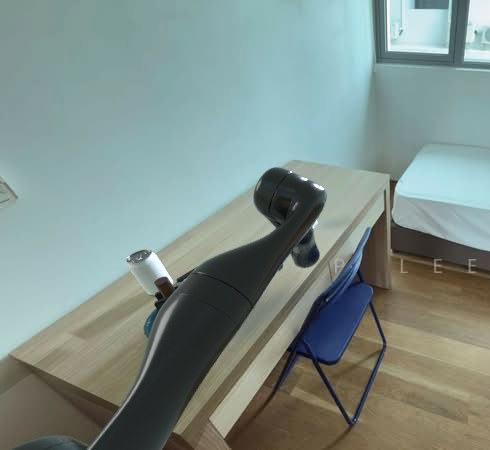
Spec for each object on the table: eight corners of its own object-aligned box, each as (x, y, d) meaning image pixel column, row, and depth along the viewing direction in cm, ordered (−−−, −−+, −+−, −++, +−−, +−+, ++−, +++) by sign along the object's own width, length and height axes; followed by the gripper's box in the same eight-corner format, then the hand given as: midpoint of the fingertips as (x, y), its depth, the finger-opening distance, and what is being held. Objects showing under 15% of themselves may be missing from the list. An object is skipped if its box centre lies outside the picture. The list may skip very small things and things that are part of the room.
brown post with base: (195, 332, 74) (165, 288, 65) (173, 333, 74) (141, 290, 65) (205, 314, 78) (179, 271, 70) (185, 315, 78) (156, 272, 70)
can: (142, 293, 86) (118, 261, 79) (162, 278, 91) (141, 246, 84) (159, 298, 85) (136, 266, 78) (179, 282, 90) (159, 250, 83)
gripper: (229, 245, 79) (149, 271, 72) (237, 277, 69) (145, 311, 62) (238, 267, 83) (164, 293, 76) (247, 300, 74) (163, 334, 66)
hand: (156, 301), depth 69 cm, fingers closed on brown post with base, 2 cm apart
